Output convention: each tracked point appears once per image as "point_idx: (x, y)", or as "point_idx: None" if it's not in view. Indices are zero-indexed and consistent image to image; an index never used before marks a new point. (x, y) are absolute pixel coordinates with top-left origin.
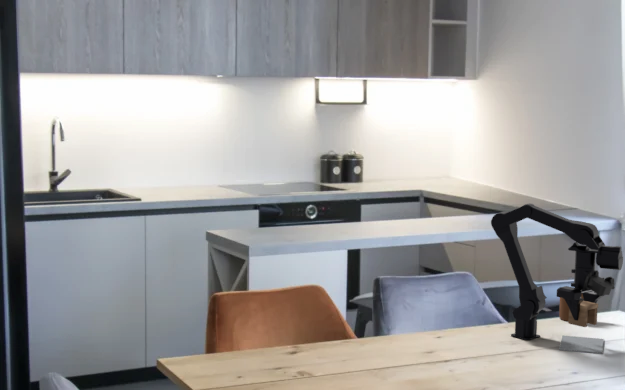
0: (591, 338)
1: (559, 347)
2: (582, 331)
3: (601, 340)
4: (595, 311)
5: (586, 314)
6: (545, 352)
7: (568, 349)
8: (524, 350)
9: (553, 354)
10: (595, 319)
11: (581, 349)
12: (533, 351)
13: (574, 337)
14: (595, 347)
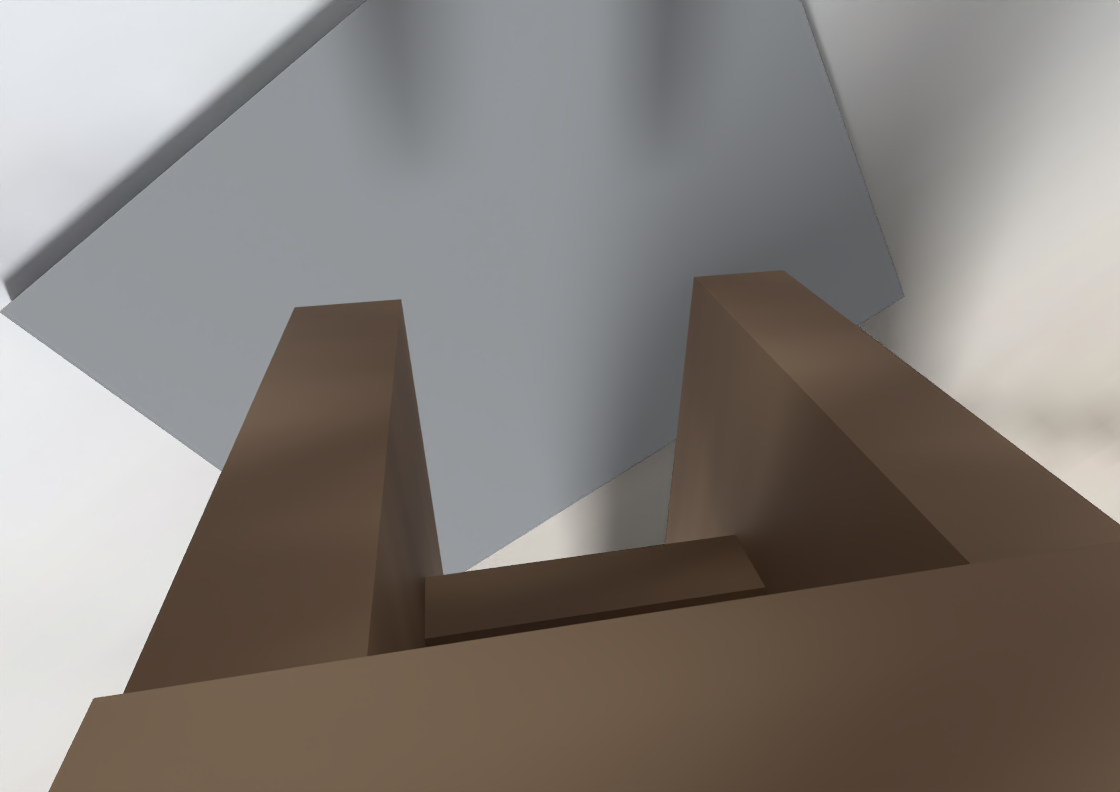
0: (180, 405)
1: (858, 324)
2: (28, 654)
3: (101, 271)
4: (332, 545)
5: (922, 443)
6: (1059, 301)
7: (873, 213)
8: (1080, 435)
9: (1098, 203)
10: (343, 367)
11: (771, 107)
12: (1077, 379)
13: None
14: (518, 48)
